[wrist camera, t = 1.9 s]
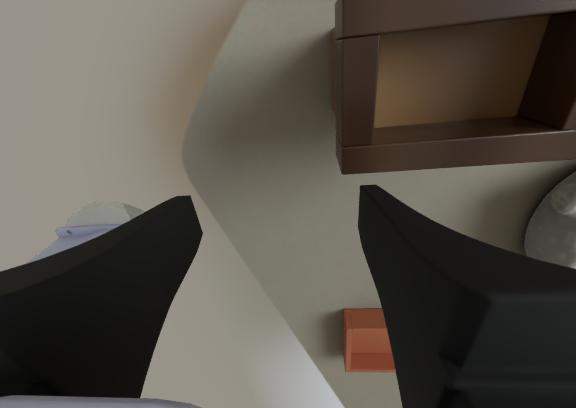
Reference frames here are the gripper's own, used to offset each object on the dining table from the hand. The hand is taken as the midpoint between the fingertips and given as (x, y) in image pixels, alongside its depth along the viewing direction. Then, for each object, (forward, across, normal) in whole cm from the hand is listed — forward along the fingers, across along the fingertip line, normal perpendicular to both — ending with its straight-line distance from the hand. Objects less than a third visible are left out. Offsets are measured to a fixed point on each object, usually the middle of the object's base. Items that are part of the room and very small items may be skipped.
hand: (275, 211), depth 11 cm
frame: (+3, -7, -4) cm, 9 cm away
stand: (+10, -7, -4) cm, 13 cm away
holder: (+10, -10, +25) cm, 29 cm away
